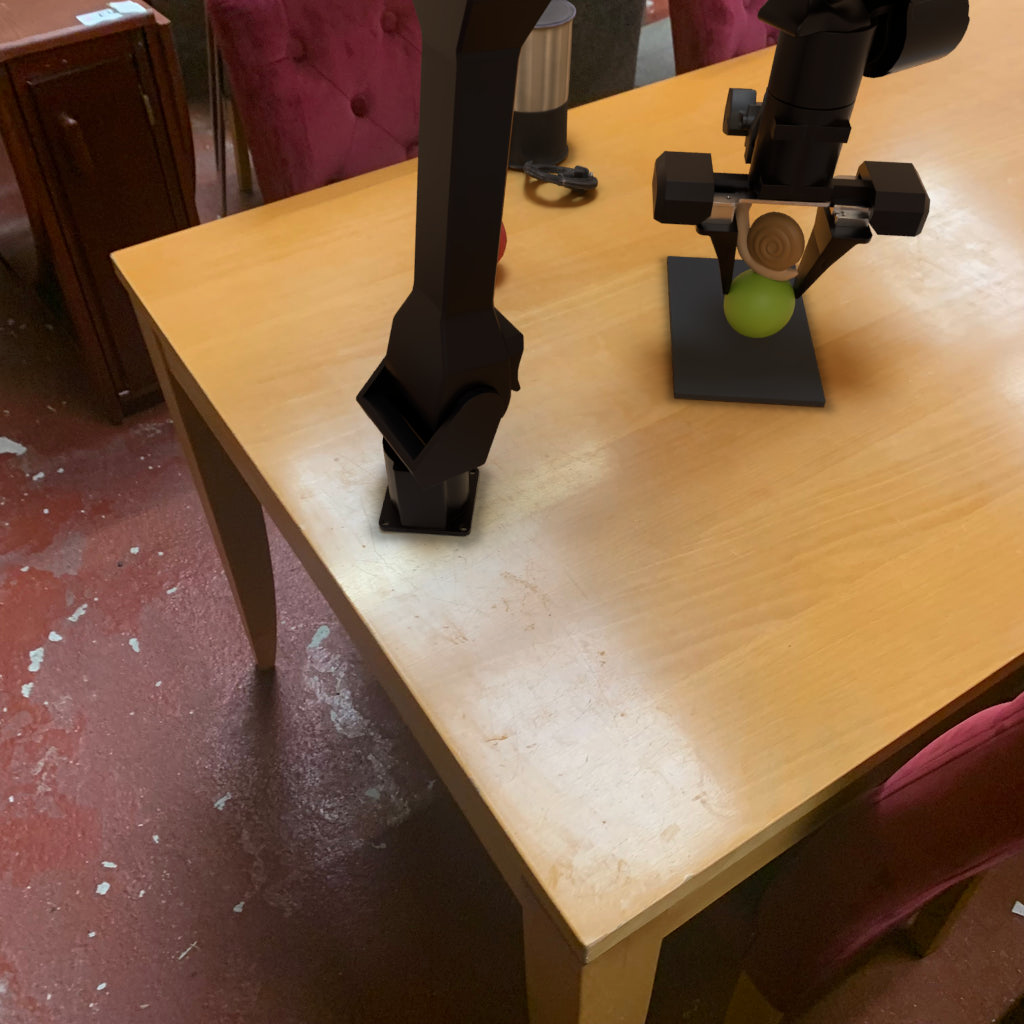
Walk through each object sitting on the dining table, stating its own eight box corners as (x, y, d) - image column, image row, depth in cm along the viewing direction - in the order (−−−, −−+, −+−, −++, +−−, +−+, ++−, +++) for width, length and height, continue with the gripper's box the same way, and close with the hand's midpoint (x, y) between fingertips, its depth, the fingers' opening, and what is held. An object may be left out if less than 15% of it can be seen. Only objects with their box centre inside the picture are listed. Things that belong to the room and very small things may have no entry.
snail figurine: (730, 299, 75) (757, 162, 66) (799, 328, 72) (836, 189, 64) (695, 329, 72) (718, 190, 64) (765, 360, 70) (799, 219, 61)
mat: (824, 407, 72) (826, 401, 71) (673, 398, 72) (675, 392, 72) (793, 267, 85) (794, 262, 84) (666, 261, 85) (667, 255, 85)
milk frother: (514, 125, 104) (515, -15, 93) (636, 159, 99) (652, 15, 88) (446, 177, 96) (438, 30, 85) (575, 217, 91) (585, 66, 80)
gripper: (929, 48, 63) (862, 244, 75) (664, 37, 64) (639, 232, 76) (969, 119, 56) (888, 324, 67) (669, 105, 57) (641, 310, 68)
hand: (760, 293), depth 70 cm, fingers closed on snail figurine, 5 cm apart
